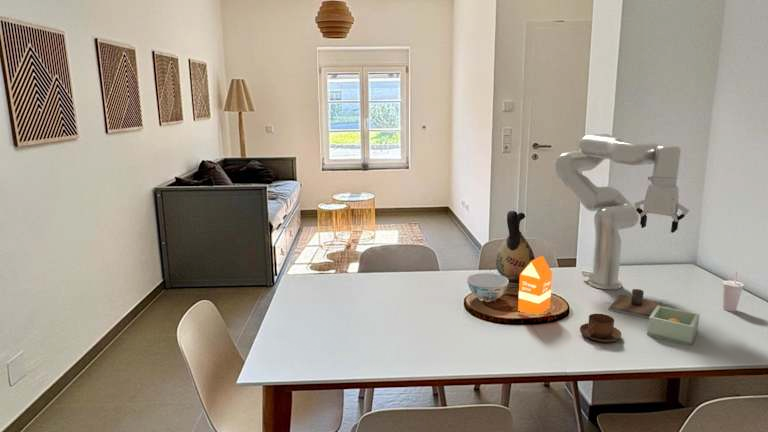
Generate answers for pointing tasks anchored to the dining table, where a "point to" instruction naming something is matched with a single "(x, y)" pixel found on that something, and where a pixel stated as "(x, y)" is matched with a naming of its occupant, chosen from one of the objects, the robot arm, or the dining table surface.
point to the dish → (673, 325)
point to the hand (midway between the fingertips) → (658, 229)
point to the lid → (635, 303)
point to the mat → (629, 312)
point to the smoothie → (731, 294)
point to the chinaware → (487, 285)
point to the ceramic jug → (514, 251)
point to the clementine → (674, 320)
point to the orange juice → (535, 287)
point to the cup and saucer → (600, 328)
